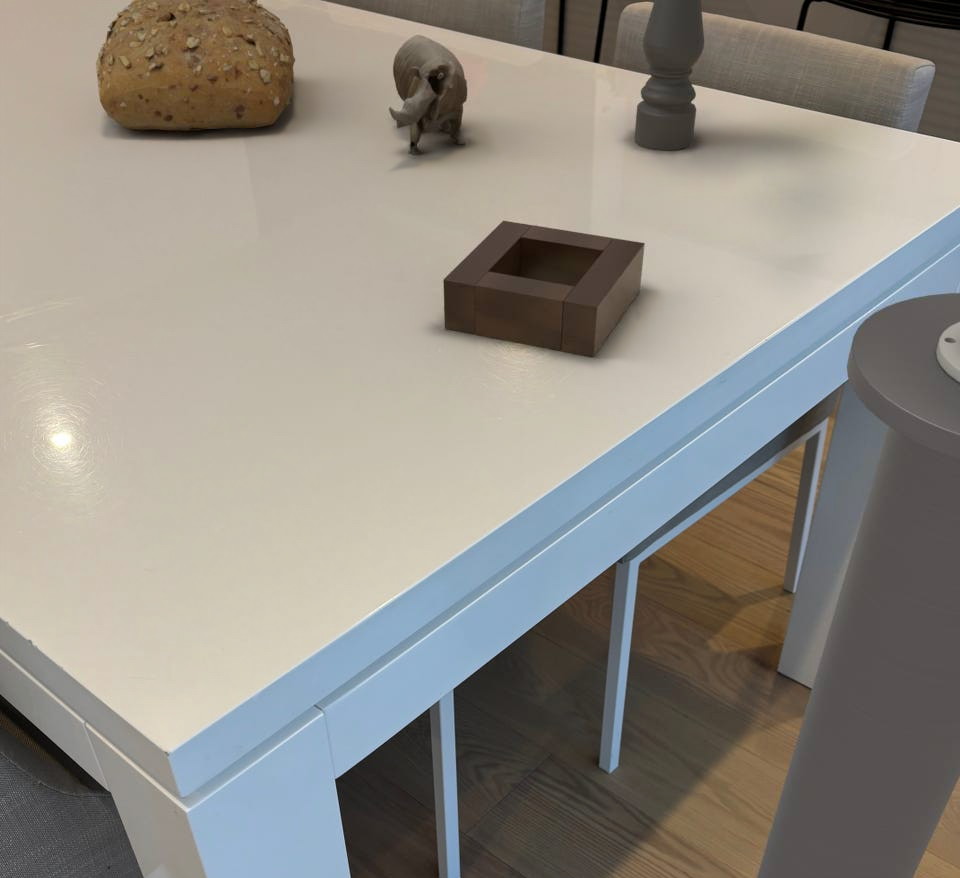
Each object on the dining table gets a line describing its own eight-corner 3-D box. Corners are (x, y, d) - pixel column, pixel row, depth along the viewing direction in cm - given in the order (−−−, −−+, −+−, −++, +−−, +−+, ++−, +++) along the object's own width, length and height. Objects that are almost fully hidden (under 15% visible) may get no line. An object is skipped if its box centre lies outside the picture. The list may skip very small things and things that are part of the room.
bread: (294, 138, 116) (280, 13, 108) (94, 143, 115) (64, 17, 107) (306, 72, 134) (294, -40, 126) (133, 76, 133) (110, -36, 125)
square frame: (640, 290, 89) (645, 242, 86) (593, 357, 80) (597, 306, 78) (502, 266, 92) (503, 220, 89) (444, 328, 84) (443, 279, 81)
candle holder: (694, 133, 117) (729, -151, 100) (689, 152, 112) (725, -142, 95) (637, 129, 118) (662, -153, 101) (630, 148, 113) (655, -143, 96)
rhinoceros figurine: (468, 84, 121) (457, -21, 107) (478, 193, 119) (467, 100, 104) (400, 92, 122) (379, -12, 107) (407, 201, 119) (387, 109, 104)
